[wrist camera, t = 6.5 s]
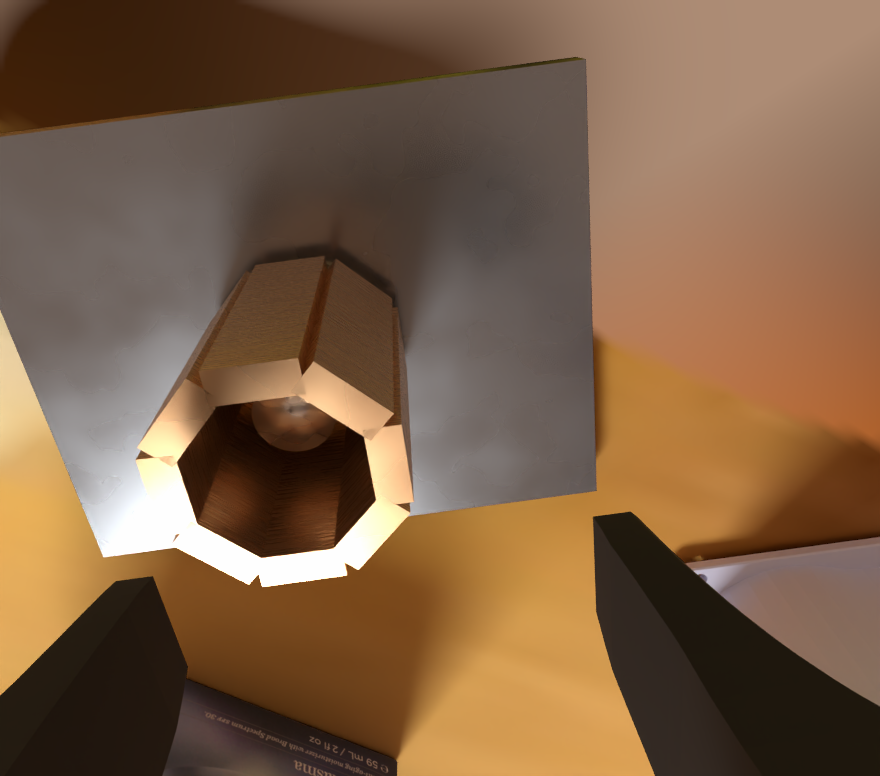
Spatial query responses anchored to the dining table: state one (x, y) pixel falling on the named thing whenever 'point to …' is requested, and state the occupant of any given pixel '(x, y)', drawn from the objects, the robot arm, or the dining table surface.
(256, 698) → the dining table surface
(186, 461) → the brown hollow prism
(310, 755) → the small box
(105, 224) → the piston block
